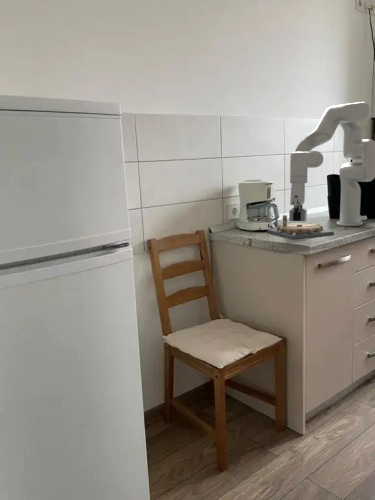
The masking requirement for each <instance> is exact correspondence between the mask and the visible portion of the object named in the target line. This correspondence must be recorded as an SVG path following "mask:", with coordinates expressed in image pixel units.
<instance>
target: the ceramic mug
mask: <svg viewBox="0 0 375 500" xmlns="http://www.w3.org/2000/svg"><path fill="white" fill-rule="evenodd" d="M265 220H266V221H267V222H269V220H268V219H265ZM273 224H274V225H275V228H277V226H279V225H280V224H278V219H277V220H276V221H275V222H274V223H273ZM268 227H270V229H274V228H273V227H271V226H269V224H268Z"/></svg>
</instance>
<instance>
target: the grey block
mask: <svg viewBox="0 0 375 500" xmlns="http://www.w3.org/2000/svg"><path fill="white" fill-rule="evenodd" d="M293 209H294V207H292V208H290V209H289V215H288V217H289V218H288V220H289V221H288V222H294V221H293ZM300 212H301V219H300V221H299V222H306V221H307V213H308V209H307V208H304V207H303V208H301V209H300Z"/></svg>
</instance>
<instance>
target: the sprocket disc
mask: <svg viewBox="0 0 375 500" xmlns="http://www.w3.org/2000/svg"><path fill="white" fill-rule="evenodd" d="M278 225H279V226H277V227H276V228H277V230H279V232H287V233H298V234H302V233H314V232H320V231H321V230H323V229H324V226H323V225H320V224H319V223H318V224H316V223H315V224H314V223H309V222H307V223H303V222H302V223H301V222H296V223H288V215H286V214H284V215H282V224H278Z"/></svg>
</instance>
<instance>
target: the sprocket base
mask: <svg viewBox="0 0 375 500" xmlns="http://www.w3.org/2000/svg"><path fill="white" fill-rule="evenodd" d="M266 233H269V234H272V235H275V236H279V237H283V238H286V239H289V240H290V239H291V240H301V239H307V238H308V239H309V238H316V237H327V236H334V235H335V231H333V230H328V229H324V228H323V230H321V231H320V232H314V233H302V234H298V233H287V232H279V230H277V227H275V228H274V229H267V230H266Z"/></svg>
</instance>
